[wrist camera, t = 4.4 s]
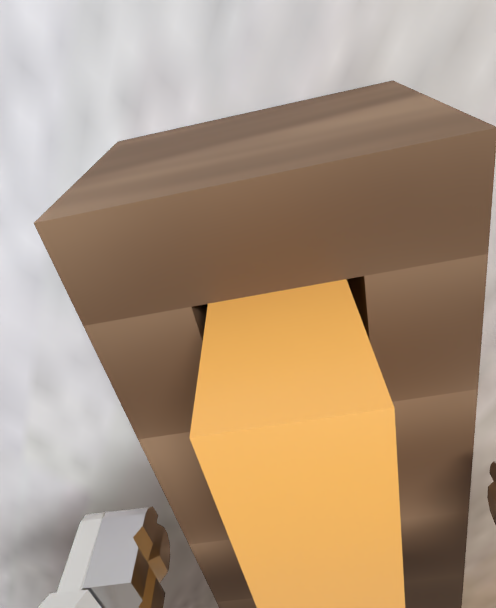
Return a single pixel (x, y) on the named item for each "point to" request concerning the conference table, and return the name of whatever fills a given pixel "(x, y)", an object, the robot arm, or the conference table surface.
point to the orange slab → (301, 449)
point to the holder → (296, 286)
